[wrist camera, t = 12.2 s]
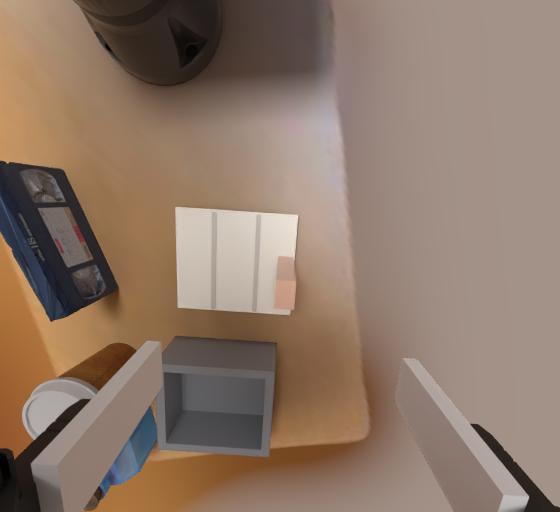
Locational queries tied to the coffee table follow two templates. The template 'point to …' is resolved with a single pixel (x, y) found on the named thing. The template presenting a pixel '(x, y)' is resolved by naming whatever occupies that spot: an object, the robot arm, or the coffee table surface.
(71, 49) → the coffee table surface
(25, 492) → the robot arm
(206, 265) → the lid
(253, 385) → the tub
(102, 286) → the vhs cassette tape
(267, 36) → the coffee table surface
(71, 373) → the disposable coffee cup
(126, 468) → the perfume bottle
